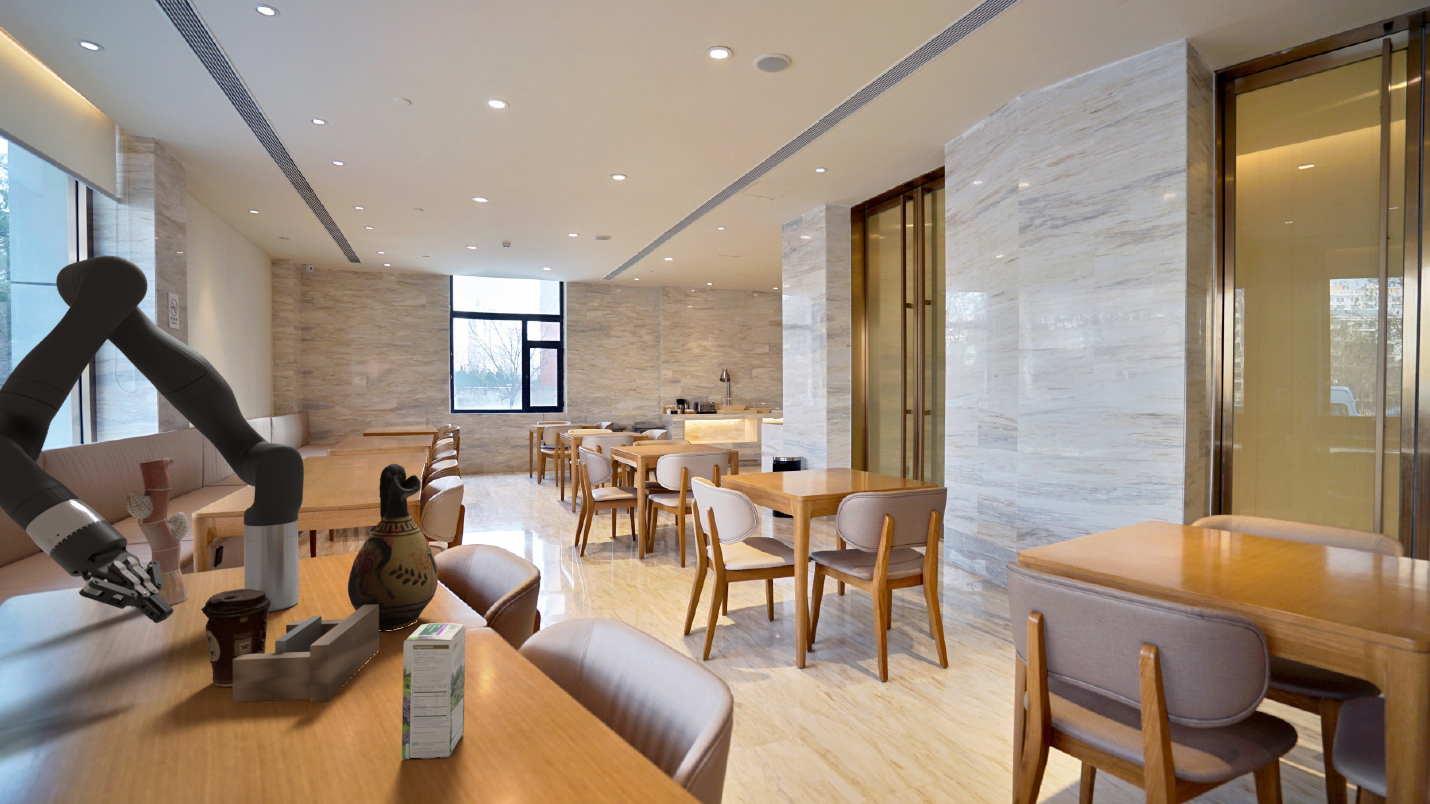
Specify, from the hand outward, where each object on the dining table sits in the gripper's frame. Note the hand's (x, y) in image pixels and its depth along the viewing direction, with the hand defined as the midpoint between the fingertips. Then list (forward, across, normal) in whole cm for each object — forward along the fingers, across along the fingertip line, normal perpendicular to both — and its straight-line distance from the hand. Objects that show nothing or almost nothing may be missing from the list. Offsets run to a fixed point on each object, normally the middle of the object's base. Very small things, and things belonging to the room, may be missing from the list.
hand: (165, 617), depth 99 cm
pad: (+20, 0, -7) cm, 21 cm away
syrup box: (+40, -23, -25) cm, 52 cm away
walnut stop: (+21, 0, -8) cm, 23 cm away
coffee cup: (+14, 0, 0) cm, 14 cm away
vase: (-13, +40, +27) cm, 50 cm away
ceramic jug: (+24, +24, -10) cm, 35 cm away
